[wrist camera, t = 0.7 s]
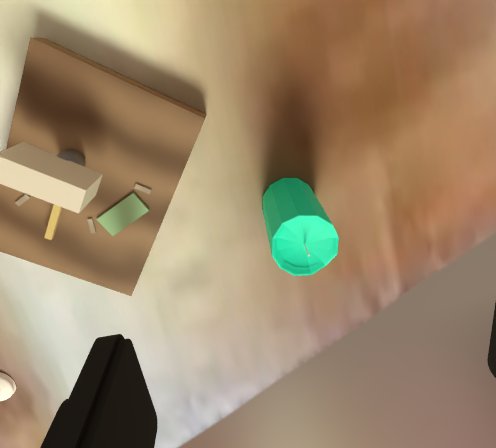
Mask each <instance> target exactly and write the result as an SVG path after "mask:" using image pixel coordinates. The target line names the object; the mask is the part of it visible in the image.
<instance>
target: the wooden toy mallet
mask: <svg viewBox="0 0 496 448" xmlns="http://www.w3.org/2000/svg"><path fill="white" fill-rule="evenodd" d="M102 175H103V174H101V173H99V172H96V171H94V170H91V169H89V168H86V167H85V158H84V156H83V155H82V154H81V153H80V152H79V151H77V150H75V149H66V150H64V151H62V152H61V153H59V154H57V155H54V154H52V153H49V152H47V151H44V150H42V149H39V148H37V147H35V146H32V145H30V144H27V143H25V142H22V143H20V144H17V145H15V146H13V147H10V148H8V149H6V150H4V151H1V152H0V184H2V185H4V186H7V187H10V188H12V189H15V190H18V191H20V192H23V193H26V194H28V195H31V196H34V197H36V198H39V199H42V200H44V201H47V202H49V203H52V204H54V205H53V209H52V212H51V216H50V219H49V223H48V226H47V230H46V233H45V237H44V238H46V239H49V240H52V239H53V237H54V234H55V230H56V227H57V223H58V220H59V217H60V213H61V210H62V207H63V208H65V209H68V210H71V211H73V212H76V213H80V212H81V211H82V210H83V208H84V207H85V206H86V205H87V204H88V203H89V202H90V201H91V200H92V199H93V198H94V197H95V196H96V193H97V190H98V187H99V184H100V181H101V178H102Z"/></svg>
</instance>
